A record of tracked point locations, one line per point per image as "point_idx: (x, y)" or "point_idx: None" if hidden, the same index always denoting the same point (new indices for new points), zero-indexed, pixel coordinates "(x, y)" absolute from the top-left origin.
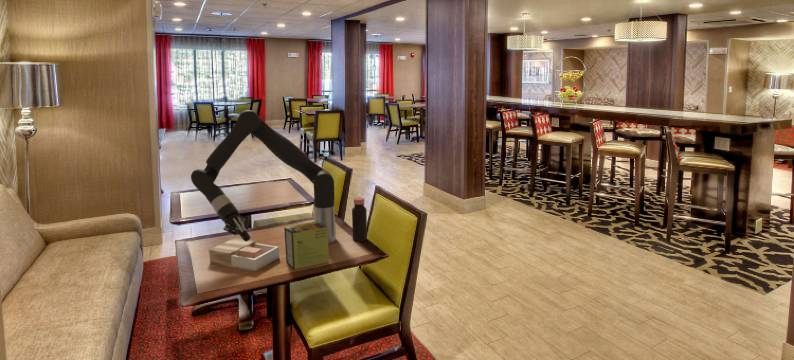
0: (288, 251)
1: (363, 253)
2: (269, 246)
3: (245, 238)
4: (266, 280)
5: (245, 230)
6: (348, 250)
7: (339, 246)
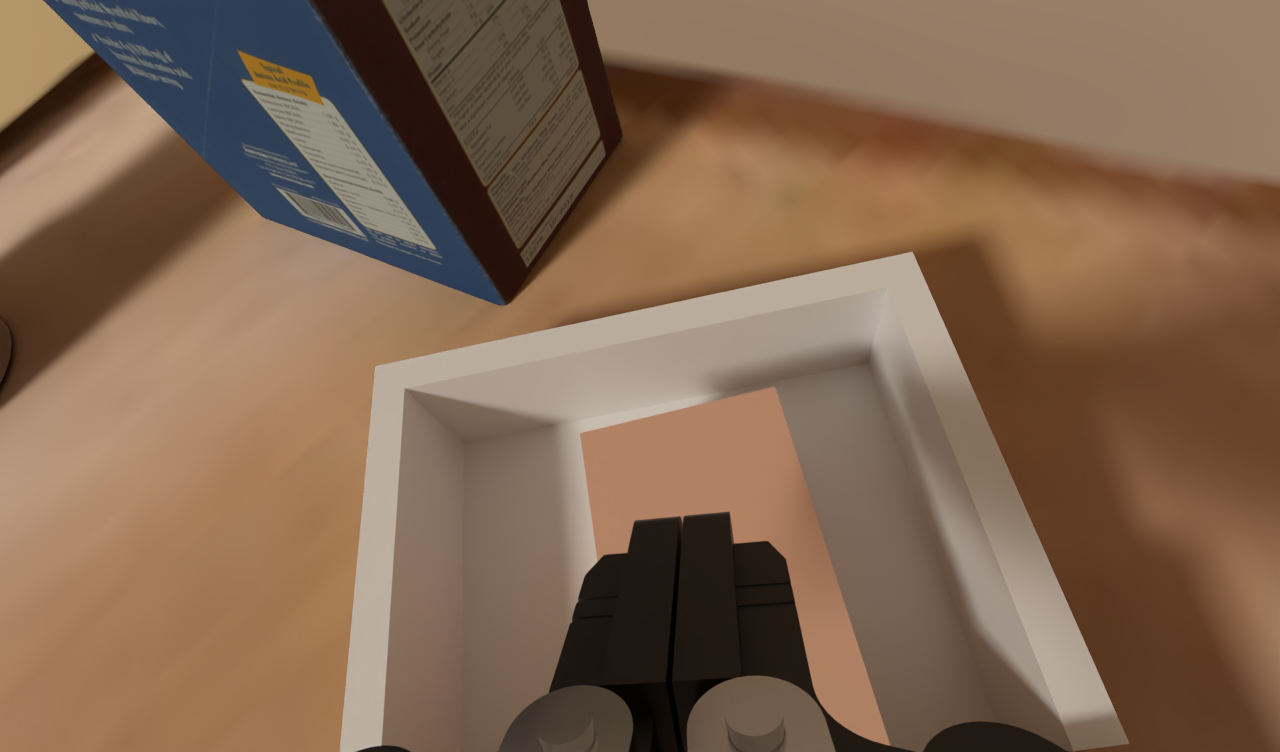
0: (510, 125)
1: None
2: (399, 488)
3: (776, 554)
4: (943, 129)
5: (588, 693)
6: (142, 133)
7: (62, 225)
